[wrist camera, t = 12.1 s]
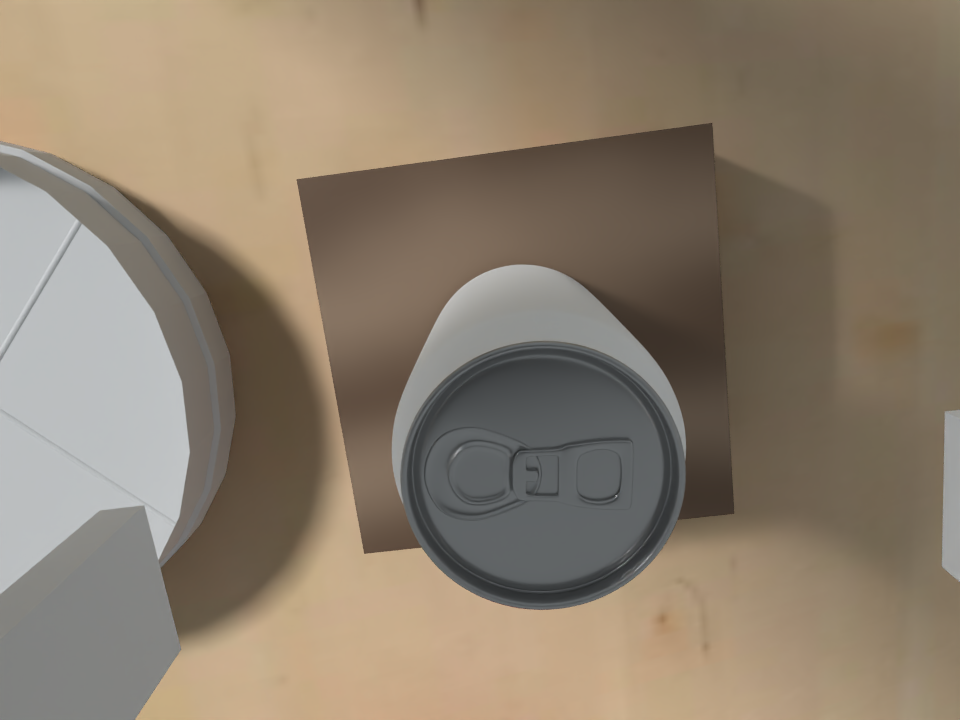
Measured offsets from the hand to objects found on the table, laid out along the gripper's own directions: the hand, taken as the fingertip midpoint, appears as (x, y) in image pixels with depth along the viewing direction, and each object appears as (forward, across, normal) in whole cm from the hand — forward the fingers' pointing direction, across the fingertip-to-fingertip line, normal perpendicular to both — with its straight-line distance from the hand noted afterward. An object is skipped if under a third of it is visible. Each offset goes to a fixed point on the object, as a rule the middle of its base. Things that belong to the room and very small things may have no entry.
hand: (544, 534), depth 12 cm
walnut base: (+20, 0, 0) cm, 20 cm away
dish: (+21, -24, 0) cm, 32 cm away
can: (+14, 0, 0) cm, 15 cm away
